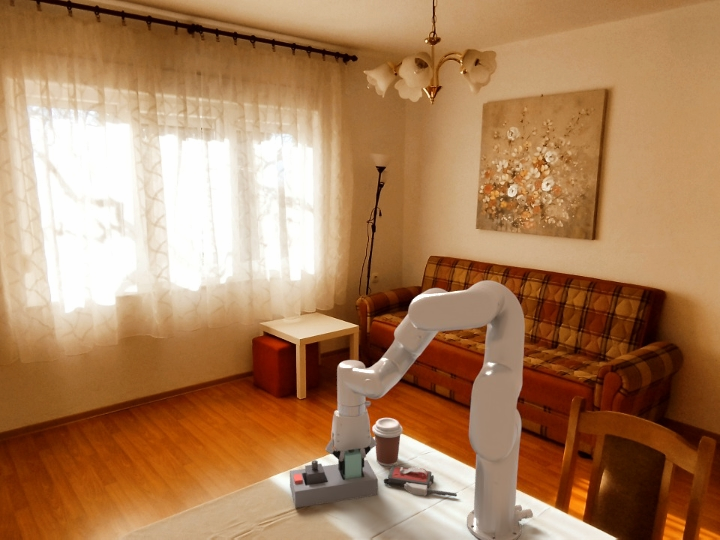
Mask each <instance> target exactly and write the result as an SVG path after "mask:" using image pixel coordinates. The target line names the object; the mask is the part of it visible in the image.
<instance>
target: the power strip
mask: <svg viewBox="0 0 720 540" xmlns="http://www.w3.org/2000/svg"><path fill="white" fill-rule="evenodd" d="M374 471H375V470H373V467H372V466H371V464H370V463H369V461H368V459H367V460H365V459H364V467H363V472H361V477H359V478H352V479H346V480H345V479H344V476H343V475H342V472H341V471H339V468H338V463H337V464H336V463H335V464H329V465H328V464H327V465H323V464H322V463H319V462H318V460H312V461H311V464H309V465H304V468H301V469H293V470H289V488H290V492H291V495H292V501H293V503H294V507H295V509H296V508H303V507H309V506H315V505H321V504H322V505H323V504H328V503H333V502H334V503H335V502H340V501H345V500H352V499H360V498H365V497H370V496H377V495H378V493H379V492H378V489H379V488H378V487H379V485H378V484H379V482H378V481H379V480H378V477H377V475H376V474H375V472H374Z"/></svg>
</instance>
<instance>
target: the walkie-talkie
mask: <svg viewBox="0 0 720 540" xmlns="http://www.w3.org/2000/svg"><path fill="white" fill-rule="evenodd" d="M434 480H435V477H434V475H433V474H432V471H428V470H427V469H425V468H419V467H414V466H413V467H411V466H410V467H403V466H394V465H392V466H390V470H389V473H388V476H387V478H384V480H383V483H384V484H385V485H388V486H389V487H396V488H403V489H405V490H406V492H409V493H410V494H413V495H419V496H424V497H426V496H427V495H439V496H449V497H450V496H451V497H457V496H458V495H457V493H456V492H451V491H443V490H438V489H432V487H431V486H432V485H433V484H434Z"/></svg>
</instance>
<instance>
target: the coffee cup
mask: <svg viewBox="0 0 720 540" xmlns="http://www.w3.org/2000/svg"><path fill="white" fill-rule="evenodd" d="M371 431H372V433H373V434H374V440H375V441H376V443H377V445H376V446H375V457H376V463H377V464H378V463H379V465H380V464H381V466H383V465H384V466H383V467H392V466H394V465H396V464H398V460H399V450H400V442H401V441H400V440H401V435H402V434H403V432H404V430H403V426H402V425H401V424H400V422H399V420H397V419H394V418H391V417H383V418H379V419H377V421H375V424H373V426H372V430H371Z"/></svg>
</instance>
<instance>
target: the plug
mask: <svg viewBox="0 0 720 540" xmlns="http://www.w3.org/2000/svg"><path fill="white" fill-rule="evenodd" d="M344 461H345V475H343V476H344V479H345V480H346V479H352V478H359V477H361V452H360V451H359V449H352V450H345V454H344Z"/></svg>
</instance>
